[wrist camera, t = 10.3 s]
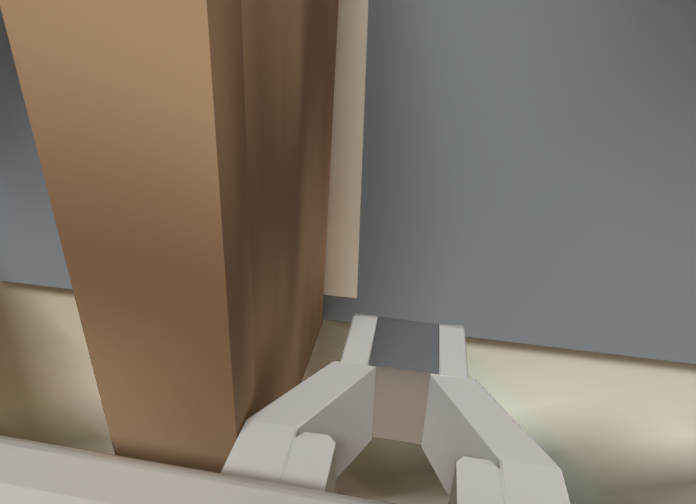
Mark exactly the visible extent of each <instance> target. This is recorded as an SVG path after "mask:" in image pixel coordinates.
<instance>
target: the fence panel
mask: <svg viewBox="0 0 696 504" xmlns="http://www.w3.org/2000/svg"><path fill="white" fill-rule="evenodd" d="M338 5H339V0H0V7H1V11H2V15H3V19H4V23H5V27H6V31H7V35H8V38H9V42H10V46H11V50H12V54H13V58H14V62H15V66H16V70H17V74H18V78H19V81H20V85H21V89H22V93H23V97H24V101H25V105H26V109H27V113H28V117H29V120H30V124H31V128H32V132H33V136H34V140H35V144H36V148H37V152H38V156H39V159H40V163H41V167H42V171H43V175H44V179H45V183H46V187H47V191H48V195H49V198H50V202H51V206H52V210H53V214H54V218H55V222H56V226H57V230H58V234H59V237H60V241H61V245H62V249H63V253H64V257H65V261H66V265H67V269H68V273H69V276H70V280H71V284H72V288H73V292H74V296H75V300H76V304H77V308H78V312H79V316H80V319H81V323H82V327H83V331H84V335H85V339H86V343H87V347H88V351H89V355H90V358H91V362H92V366H93V370H94V374H95V378H96V382H97V386H98V390H99V394H100V397H101V401H102V405H103V409H104V413H105V417H106V421H107V425H108V429H109V433H110V436H111V440H112V444H113V448H114V452H115V455H117V456H123V457H129V458H135V459H140V460H146V461H152V462H158V463H164V464H169V465H175V466H181V467H187V468H192V469H198V470H204V471H210V472H216V473H221V471H222V469H223V467H224V465H225V463H226V461H227V458H228V456H229V454H230V452H231V450H232V448H233V446H234V444H235V442H236V440H237V438H238V436H239V433H240V431H241V429H242V427H243V425H244V423H245V421H246V420H247V419H248V418H250V417H251V416H253V415H254V414H256V413H257V412H259V411H260V410H262V409H263V408H265V407H266V406H268V405H269V404H271V403H272V402H274V401H275V400H276V399H278V398H279V397H281V396H282V395H284V394H285V393H287V392H288V391H290V390H291V389H293V388H294V387H296V386H297V385H299V384H300V383H301V381H302V379H303V376H304V373H305V370H306V367H307V365H308V362H309V359H310V356H311V354H312V351H313V348H314V345H315V342H316V340H317V337H318V334H319V331H320V328H321V326H322V316H323V296H324V277H325V258H326V238H327V219H328V199H329V180H330V160H331V141H332V121H333V102H334V83H335V63H336V44H337V24H338Z"/></svg>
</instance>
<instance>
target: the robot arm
mask: <svg viewBox="0 0 696 504" xmlns="http://www.w3.org/2000/svg"><path fill="white" fill-rule="evenodd" d="M372 437H375V438H383V439H391V440H398V441H404V442H409V443H415V444H420V445H421V447H422V449H423V451H424V453H425V454H426V456H427V458H428V460H429V462H430V463H431V465H432V467H433V469H434V471H435V473H436V474H437V476H438V478H439V480H440V482H441V483H442V485H443V487H444V489H445V491H446V492H447V494H448V496H449V504H570V501H569V497H568V493H567V489H566V485H565V482H564V478H563V474H562V470H561V469H560V468H559V467H558V466H557V465H556V464H555V463H554V461H553V460H552V459H551V458H550V457H549V456H548V455H547V454H546V453H545V452H544V451H543V450H542V449H541V448H540V447H539V446H538V445H537V443H536V442H535V441H534V440H533V439H532V438H531V437H530V436H529V435H528V434H527V433H526V432H525V431H524V430H523V429H522V428H521V427H520V426H519V424H518V423H517V422H516V421H515V420H514V419H513V418H512V417H511V416H510V415H509V414H508V413H507V412H506V411H505V410H504V409H503V408H502V407H501V405H500V404H499V403H498V402H497V401H496V400H495V399H494V398H493V397H492V396H491V395H490V394H489V393H488V392H487V391H486V390H485V389H484V387H483V386H482V385H481V384H480V383H479V382H478V381H477V380H475V379H469V377H468V365H467V352H466V340H465V328H464V327H463V325H452V324H440V323H439V324H433V323H425V322H418V321H411V320H403V319H396V318H388V317H381V316H379V317H378V316H373V315H364V314H355V315H354V316H353V319H352V322H351V326H350V329H349V333H348V336H347V340H346V343H345V347H344V350H343V354H342V357H341V361H340V362H338V361H333V362H331V363H330V364H328V365H327V366H325V367H324V368H322V369H321V370H319V371H318V372H316V373H315V374H313V375H312V376H310V377H309V378H307V379H306V380H305V381H303V382H302V383H300V384H299V385H297V386H296V387H294V388H293V389H291V390H290V391H288V392H287V393H285V394H284V395H282V396H281V397H279V398H278V399H276V400H275V401H274V402H272V403H271V404H269V405H268V406H266V407H265V408H263V409H262V410H260V411H259V412H257V413H256V414H254V415H253V416H251V417H250V418H248V419H247V420H246V421H245V423H244V425H243V427H242V429H241V431H240V433H239V436H238V438H237V440H236V442H235V444H234V446H233V448H232V450H231V452H230V454H229V456H228V458H227V461H226V463H225V465H224V467H223V469H222V471H221V473H216V472H210V471H204V470H198V469H192V468H187V467H181V466H175V465H169V464H164V463H158V462H152V461H146V460H140V459H135V458H129V457H123V456H117V455H112V454H106V453H100V452H94V451H88V450H83V449H77V448H71V447H65V446H60V445H54V444H48V443H42V442H37V441H31V440H25V439H19V438H13V437H8V436H2V435H0V504H395V503H389V502H383V501H377V500H372V499H366V498H360V497H354V496H349V495H343V494H337V493H335V480H336V479H337V478H338V477H339V475H340V474H341V473H342V472H343V471H344V470H345V469H346V468H347V467H348V466H349V464H350V463H351V462H352V461H353V460H354V459H355V458H356V457H357V456H358V454H359V453H360V452H361V451H362V450H363V449H364V448H365V447H366V446H367V445H368V443H369V442H370V441H371V440H372Z"/></svg>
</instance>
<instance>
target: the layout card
mask: <svg viewBox="0 0 696 504" xmlns="http://www.w3.org/2000/svg"><path fill="white" fill-rule="evenodd" d="M0 281H6V282H15V283H23V284H31V285H40V286H48V287H56V288H65V289H73V288H72V284H71V280H70V276H69V273H68V269H67V265H66V261H65V257H64V253H63V249H62V245H61V241H60V237H59V234H58V230H57V226H56V222H55V218H54V214H53V210H52V206H51V202H50V198H49V195H48V191H47V187H46V183H45V179H44V175H43V171H42V167H41V163H40V159H39V156H38V152H37V148H36V144H35V140H34V136H33V132H32V128H31V124H30V120H29V117H28V113H27V109H26V105H25V101H24V97H23V93H22V89H21V85H20V81H19V78H18V74H17V70H16V66H15V62H14V58H13V54H12V50H11V46H10V42H9V38H8V35H7V31H6V27H5V23H4V19H3V15H2V11H1V7H0ZM355 314H364V315H373V316H378V317H379V316H381V317H388V318H396V319H403V320H411V321H418V322H425V323H433V324H439V323H440V324H452V325H463V327H464V328H465V337H473V338H481V339H489V340H498V341H506V342H514V343H523V344H531V345H539V346H548V347H556V348H564V349H573V350H581V351H589V352H598V353H606V354H614V355H623V356H631V357H639V358H647V359H656V360H664V361H672V362H681V363H689V364H696V0H339V5H338V24H337V44H336V63H335V83H334V102H333V121H332V141H331V160H330V180H329V199H328V219H327V238H326V258H325V277H324V296H323V316H322V319H323V320H331V321H339V322H348V323H351V322H352V319H353V316H354V315H355Z"/></svg>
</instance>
